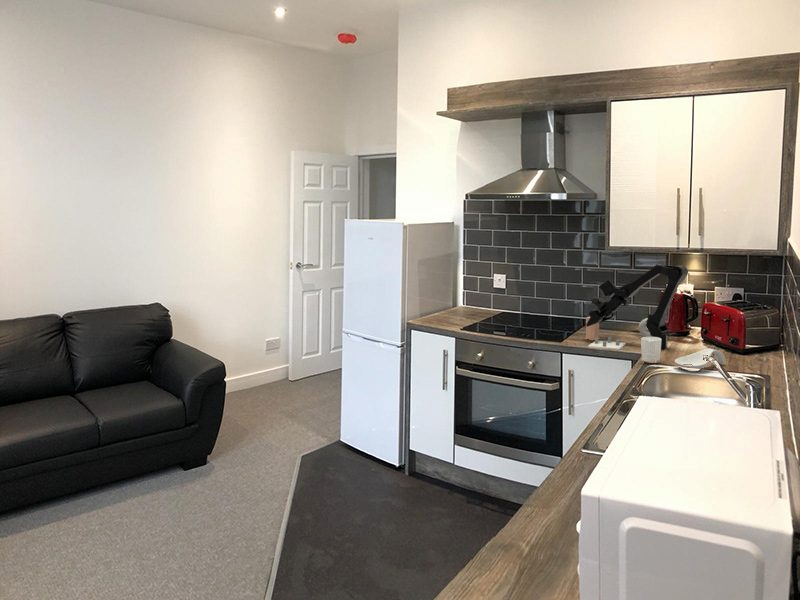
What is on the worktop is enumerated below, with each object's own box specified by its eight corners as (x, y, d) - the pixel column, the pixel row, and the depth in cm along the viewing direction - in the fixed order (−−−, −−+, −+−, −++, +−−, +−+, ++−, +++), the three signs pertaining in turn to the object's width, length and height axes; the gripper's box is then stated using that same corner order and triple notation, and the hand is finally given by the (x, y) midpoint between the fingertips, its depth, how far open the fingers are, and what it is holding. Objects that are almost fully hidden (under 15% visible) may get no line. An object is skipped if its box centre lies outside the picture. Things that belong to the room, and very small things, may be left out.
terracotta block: (598, 339, 307) (599, 317, 306) (594, 340, 304) (594, 318, 302) (590, 338, 310) (590, 316, 309) (585, 339, 307) (586, 317, 305)
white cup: (650, 365, 254) (651, 341, 252) (636, 361, 261) (636, 337, 260) (665, 362, 257) (665, 339, 255) (650, 359, 264) (651, 335, 263)
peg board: (625, 344, 294) (625, 337, 293) (619, 350, 282) (619, 343, 281) (595, 341, 301) (595, 335, 300) (587, 347, 289) (588, 340, 289)
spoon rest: (694, 375, 237) (694, 357, 236) (668, 369, 247) (668, 351, 246) (733, 367, 248) (734, 349, 247) (706, 361, 258) (707, 344, 257)
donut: (638, 337, 307) (638, 317, 306) (638, 336, 311) (639, 316, 309) (659, 339, 303) (660, 318, 302) (660, 337, 306) (660, 317, 305)
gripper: (611, 289, 307) (589, 309, 316) (592, 293, 294) (571, 314, 303) (626, 306, 303) (604, 326, 312) (608, 311, 289) (586, 332, 299)
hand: (591, 324), depth 306 cm, fingers open, 9 cm apart
